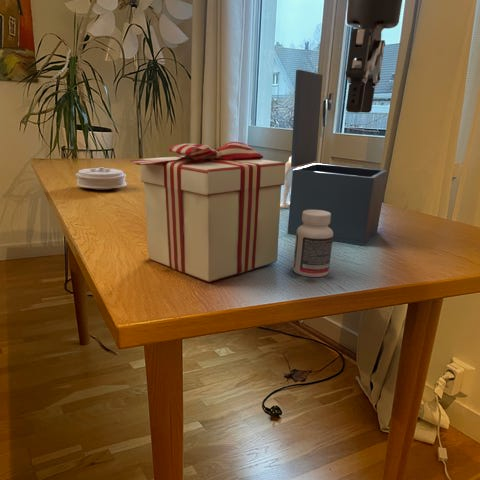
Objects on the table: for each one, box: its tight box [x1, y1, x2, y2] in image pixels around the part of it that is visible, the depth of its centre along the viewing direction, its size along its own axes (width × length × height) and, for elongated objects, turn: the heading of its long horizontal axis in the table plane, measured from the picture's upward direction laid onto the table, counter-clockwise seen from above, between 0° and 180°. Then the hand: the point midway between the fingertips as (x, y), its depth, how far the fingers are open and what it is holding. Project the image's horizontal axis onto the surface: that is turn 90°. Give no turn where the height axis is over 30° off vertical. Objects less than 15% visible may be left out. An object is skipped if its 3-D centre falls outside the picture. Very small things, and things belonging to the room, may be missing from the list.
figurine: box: [280, 154, 302, 209], centre depth 111 cm, size 7×4×12 cm, turn 141°
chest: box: [286, 162, 388, 247], centre depth 91 cm, size 15×13×12 cm
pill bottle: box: [292, 210, 334, 278], centre depth 69 cm, size 5×5×9 cm
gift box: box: [129, 141, 286, 283], centre depth 70 cm, size 17×18×17 cm
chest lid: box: [290, 69, 324, 167], centre depth 88 cm, size 16×13×1 cm
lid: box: [75, 166, 127, 191], centre depth 124 cm, size 13×13×5 cm
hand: (358, 112), depth 74 cm, fingers open, 8 cm apart
